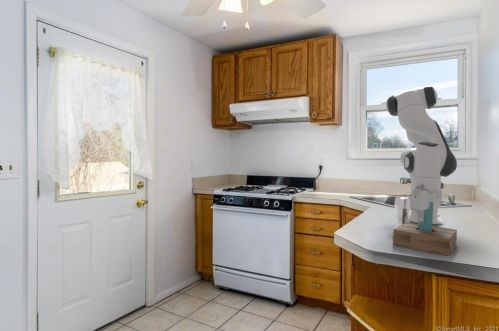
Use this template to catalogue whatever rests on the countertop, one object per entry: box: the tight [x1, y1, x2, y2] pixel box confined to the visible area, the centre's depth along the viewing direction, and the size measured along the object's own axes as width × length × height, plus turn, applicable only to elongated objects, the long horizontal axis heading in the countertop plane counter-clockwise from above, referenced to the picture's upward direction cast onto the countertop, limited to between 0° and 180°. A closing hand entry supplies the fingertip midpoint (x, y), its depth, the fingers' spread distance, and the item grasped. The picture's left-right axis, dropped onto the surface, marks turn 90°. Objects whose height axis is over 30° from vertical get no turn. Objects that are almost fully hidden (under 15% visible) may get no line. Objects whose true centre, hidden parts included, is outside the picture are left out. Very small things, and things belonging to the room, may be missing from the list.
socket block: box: [392, 222, 458, 257], centre depth 116 cm, size 18×18×6 cm
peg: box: [417, 202, 433, 232], centre depth 116 cm, size 4×4×12 cm
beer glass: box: [394, 196, 412, 229], centre depth 140 cm, size 7×7×15 cm
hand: (425, 220), depth 116 cm, fingers closed on peg, 5 cm apart
